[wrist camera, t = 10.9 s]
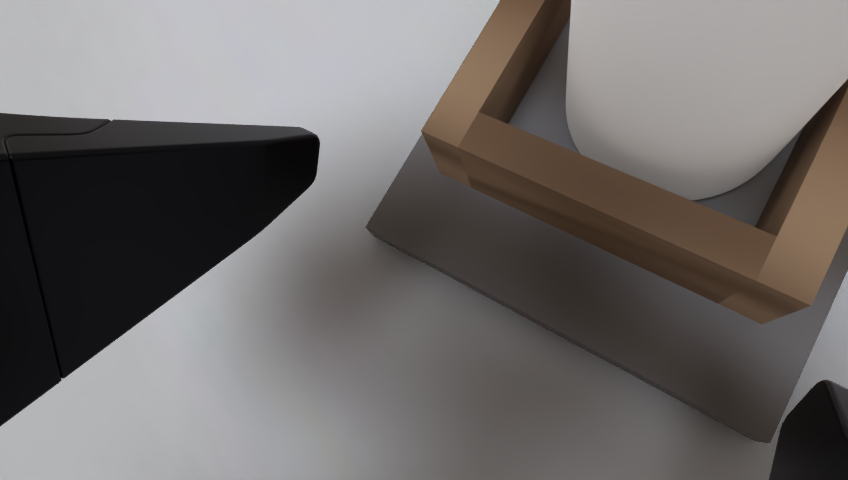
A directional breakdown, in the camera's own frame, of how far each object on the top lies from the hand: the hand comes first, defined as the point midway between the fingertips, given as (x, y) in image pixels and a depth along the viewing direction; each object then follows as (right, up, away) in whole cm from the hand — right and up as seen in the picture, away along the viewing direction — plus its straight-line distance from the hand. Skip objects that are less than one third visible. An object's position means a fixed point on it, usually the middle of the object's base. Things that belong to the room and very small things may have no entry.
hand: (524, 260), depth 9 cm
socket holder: (+6, +4, +9) cm, 12 cm away
